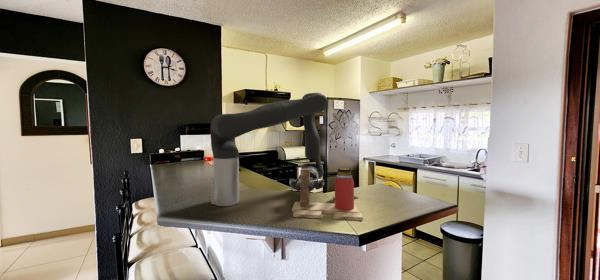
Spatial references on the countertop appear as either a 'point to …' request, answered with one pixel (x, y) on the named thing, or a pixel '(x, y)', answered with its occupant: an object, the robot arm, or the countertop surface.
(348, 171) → the condiment
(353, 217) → the broken strip
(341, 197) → the beer can
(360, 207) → the countertop surface
